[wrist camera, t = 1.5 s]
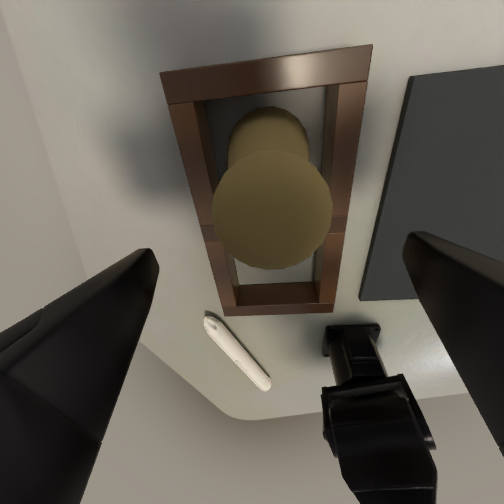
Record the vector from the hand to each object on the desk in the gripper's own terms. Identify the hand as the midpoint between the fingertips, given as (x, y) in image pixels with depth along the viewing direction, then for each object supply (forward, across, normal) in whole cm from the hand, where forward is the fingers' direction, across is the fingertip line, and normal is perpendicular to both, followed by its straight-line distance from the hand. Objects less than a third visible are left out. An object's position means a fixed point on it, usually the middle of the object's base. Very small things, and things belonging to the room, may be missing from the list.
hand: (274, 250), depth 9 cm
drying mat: (+12, -16, +6) cm, 21 cm away
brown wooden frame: (+12, 0, +5) cm, 13 cm away
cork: (+12, 0, 0) cm, 12 cm away
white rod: (+12, +6, +26) cm, 29 cm away
